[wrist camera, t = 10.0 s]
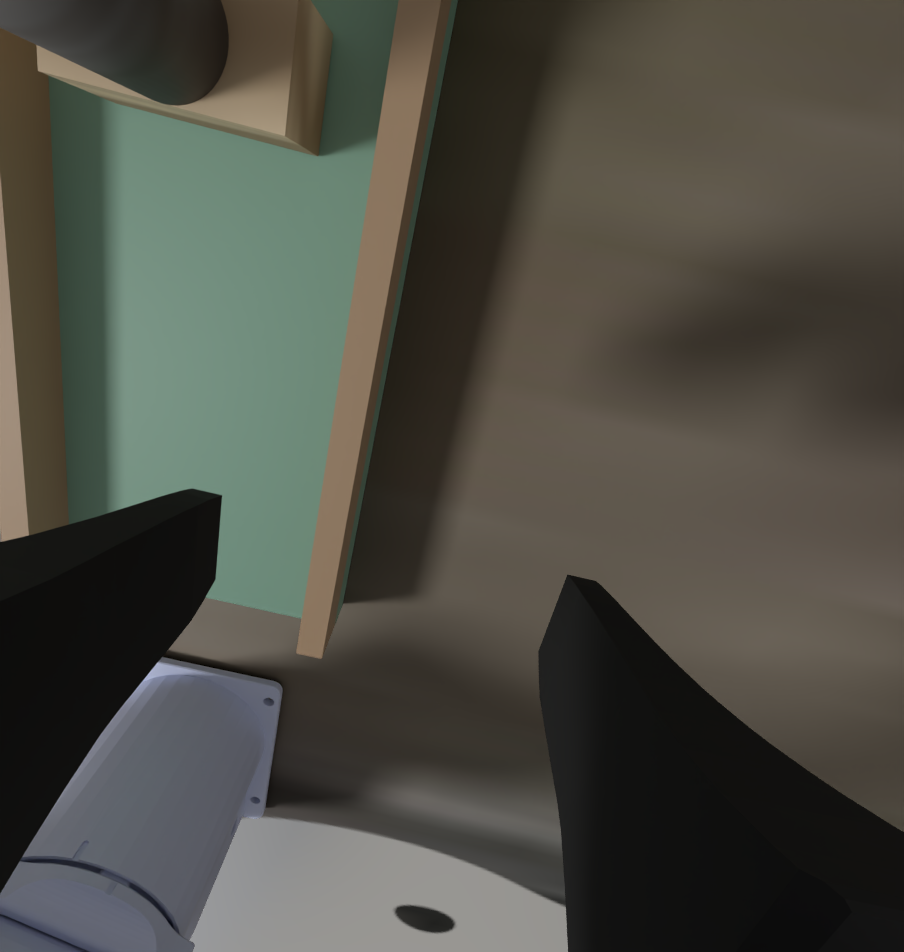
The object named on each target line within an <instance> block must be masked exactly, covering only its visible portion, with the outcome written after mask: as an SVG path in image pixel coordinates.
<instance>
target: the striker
mask: <svg viewBox="0 0 904 952" xmlns="http://www.w3.org/2000/svg"><path fill="white" fill-rule="evenodd" d="M0 28H2V29H4V30H6V31H8V32H11V33H13V34H15V35H17V36H19V37H21V38H23V39H25V40H27V41H29V42H32V43H34V44H36V46H37V65H38V71H39V72H42V73H44V74H47V75H49V76H51V77H54V78H56V79H59V80H61V81H63V82H66V83H68V84H70V85H73V86H75V87H78V88H80V89H82V90H85V91H87V92H90V93H92V94H94V95H97V96H99V97H102V98H104V99H106V100H109V101H111V102H114V103H116V104H120V105H124V106H128V107H131V108H135V109H139V110H143V111H147V112H150V113H154V114H158V115H162V116H166V117H169V118H173V119H177V120H181V121H185V122H188V123H192V124H196V125H200V126H204V127H207V128H211V129H215V130H219V131H223V132H226V133H230V134H234V135H238V136H242V137H245V138H249V139H253V140H257V141H261V142H264V143H268V144H272V145H276V146H280V147H284V148H287V149H291V150H295V151H299V152H303V153H306V154H310V155H314V156H319V147H320V139H321V131H322V123H323V115H324V106H325V98H326V90H327V82H328V74H329V65H330V57H331V49H332V41H333V33H332V32H331V30H330V29H329V27H328V26H327V24H326V23H325V21H324V20H323V18H322V17H321V15H320V14H319V12H318V11H317V9H316V7H315V6H314V4H313V3H312V1H311V0H0Z"/></svg>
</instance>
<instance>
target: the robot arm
mask: <svg viewBox="0 0 904 952" xmlns="http://www.w3.org/2000/svg"><path fill="white" fill-rule="evenodd" d="M221 504H222V495H219V494H215V493H210V492H206V491H201V490H197V489H193V488H191V489H186V490H182V491H178V492H174V493H171V494H167V495H164V496H161V497H158V498H154V499H151V500H148V501H145V502H142V503H139V504H135V505H132V506H129V507H126V508H123V509H119V510H116V511H113V512H110V513H107V514H104V515H100V516H97V517H94V518H90V519H87V520H83V521H80V522H76V523H72V524H69V525H65V526H62V527H58V528H54V529H51V530H47V531H43V532H40V533H36V534H32V535H28V536H24V537H20V538H16V539H11V540H7V541H3V542H0V952H192V951H193V949H194V946H195V945H194V943H193V942H191V941H189V940H190V938H191V936H192V934H193V932H194V930H195V928H196V925H197V923H198V921H199V918H200V916H201V913H202V911H203V909H204V906H205V904H206V901H207V899H208V897H209V894H210V892H211V890H212V887H213V885H214V882H215V880H216V878H217V875H218V873H219V870H220V868H221V866H222V863H223V861H224V859H225V856H226V854H227V851H228V849H229V847H230V844H231V842H232V839H233V837H234V835H235V832H236V830H237V828H238V825H239V823H240V820H241V818H242V816H243V817H248V818H254V819H257V818H260V817H261V816H262V815H263V813H264V810H265V806H266V800H267V793H268V786H269V780H270V773H271V766H272V760H273V753H274V746H275V740H276V733H277V726H278V720H279V713H280V706H281V700H282V693H283V688H282V686H281V685H280V684H279V683H278V682H275V681H272V680H267V679H262V678H258V677H253V676H248V675H244V674H239V673H234V672H230V671H225V670H220V669H216V668H211V667H206V666H202V665H197V664H192V663H188V662H183V661H178V660H174V659H169V658H164V657H163V655H164V654H165V653H166V652H167V650H168V649H169V648H170V647H171V645H172V644H173V643H174V642H175V640H176V639H177V638H178V637H179V635H180V634H181V633H182V632H183V630H184V629H185V628H186V626H187V625H188V624H189V623H190V621H191V620H192V618H193V617H194V615H195V614H196V612H197V610H198V609H199V607H200V605H201V604H202V602H203V601H204V599H205V597H206V595H207V594H208V592H209V590H210V588H211V587H212V585H213V583H214V582H215V580H216V568H217V555H218V542H219V529H220V516H221ZM539 689H540V701H541V707H542V714H543V720H544V726H545V732H546V738H547V744H548V750H549V756H550V762H551V767H552V773H553V779H554V785H555V791H556V797H557V803H558V810H559V818H560V826H561V836H562V851H563V865H564V880H565V897H566V915H567V937H568V952H904V832H902V831H901V830H899V829H897V828H896V827H894V826H892V825H891V824H889V823H888V822H886V821H884V820H883V819H881V818H880V817H878V816H876V815H875V814H873V813H872V812H870V811H868V810H867V809H865V808H864V807H862V806H860V805H859V804H857V803H856V802H854V801H853V800H851V799H849V798H848V797H846V796H845V795H843V794H841V793H840V792H838V791H837V790H835V789H834V788H832V787H831V786H829V785H828V784H826V783H825V782H824V781H822V780H821V779H819V778H818V777H816V776H815V775H813V774H812V773H810V772H809V771H807V770H806V769H805V768H803V767H802V766H800V765H799V764H798V763H796V762H795V761H793V760H792V759H791V758H789V757H788V756H787V755H785V754H784V753H782V752H781V751H780V750H778V749H777V748H775V747H774V746H773V745H771V744H770V743H769V742H767V741H766V740H765V739H763V738H762V737H761V736H759V735H758V734H757V733H756V732H754V731H753V730H752V729H750V728H749V727H748V726H747V725H745V724H744V723H743V722H742V721H741V720H739V719H738V718H737V717H736V716H735V715H733V714H732V713H731V712H730V711H728V710H727V709H726V708H725V707H724V706H722V705H721V704H720V703H719V702H718V701H716V700H715V699H714V698H713V697H712V696H711V695H710V694H708V693H707V692H706V691H705V690H704V689H703V688H702V687H701V686H700V685H698V684H697V683H696V682H695V681H694V680H693V679H692V678H691V677H690V676H689V675H688V674H687V673H686V672H685V671H684V670H683V669H682V668H680V667H679V666H678V665H677V664H676V663H675V662H674V661H673V660H672V659H671V658H670V657H669V656H668V655H667V654H666V653H665V652H664V651H663V650H662V649H661V648H660V647H659V646H658V645H657V644H656V643H655V642H654V641H653V640H652V638H651V637H650V636H649V635H648V634H647V633H646V632H645V631H644V630H643V629H642V628H641V627H640V626H639V625H638V624H637V623H636V622H635V621H634V619H633V618H632V617H631V616H630V615H629V614H628V613H627V612H626V611H625V610H624V609H623V608H622V607H621V606H620V604H619V603H618V602H617V601H616V600H615V599H614V598H613V597H612V596H611V595H610V594H609V593H608V592H607V591H606V590H605V589H604V588H603V587H602V586H601V585H600V584H599V583H597V582H596V581H593V580H589V579H584V578H580V577H576V576H571V575H567V577H566V580H565V583H564V585H563V588H562V591H561V593H560V596H559V599H558V601H557V604H556V607H555V609H554V612H553V614H552V617H551V620H550V622H549V625H548V628H547V630H546V633H545V636H544V638H543V641H542V644H541V646H540V649H539ZM268 698H271V699H272V700H270V699H268Z"/></svg>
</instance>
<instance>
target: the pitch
mask: <svg viewBox="0 0 904 952" xmlns="http://www.w3.org/2000/svg"><path fill="white" fill-rule="evenodd" d="M311 1H312V3H313V4H314V6H315V7H316V9H317V11H318V12H319V14H320V15H321V17H322V18H323V20H324V21H325V23H326V24H327V26H328V27H329V29H330V30H331V32H332V33H333V41H332V49H331V57H330V65H329V74H328V82H327V90H326V98H325V106H324V115H323V123H322V131H321V139H320V147H319V156H314V155H310V154H306V153H303V152H299V151H295V150H291V149H287V148H284V147H280V146H276V145H272V144H268V143H264V142H261V141H257V140H253V139H249V138H245V137H242V136H238V135H234V134H230V133H226V132H223V131H219V130H215V129H211V128H207V127H204V126H200V125H196V124H192V123H188V122H185V121H181V120H177V119H173V118H169V117H166V116H162V115H158V114H154V113H150V112H147V111H143V110H139V109H135V108H131V107H128V106H124V105H120V104H116V103H114V102H111V101H109V100H106V99H104V98H102V97H99V96H97V95H94V94H92V93H90V92H87V91H85V90H82V89H80V88H78V87H75V86H73V85H70V84H68V83H66V82H63V81H61V80H59V79H56V78H54V77H51V76H49V75H47V74H44V73H42V72H39V71H38V65H37V46H36V44H34V43H32V42H29V41H27V40H25V39H23V38H21V37H19V36H17V35H15V34H13V33H11V32H8V31H6V30H4V29H2V28H0V529H1V539H2V542H3V541H7V540H11V539H16V538H20V537H24V536H28V535H32V534H36V533H40V532H43V531H47V530H51V529H54V528H58V527H62V526H65V525H69V524H72V523H76V522H80V521H83V520H87V519H90V518H94V517H97V516H100V515H104V514H107V513H110V512H113V511H116V510H119V509H123V508H126V507H129V506H132V505H135V504H139V503H142V502H145V501H148V500H151V499H154V498H158V497H161V496H164V495H167V494H171V493H174V492H178V491H182V490H186V489H191V488H193V489H197V490H201V491H206V492H210V493H215V494H219V495H222V504H221V516H220V529H219V542H218V555H217V568H216V580H215V582H214V583H213V585H212V587H211V588H210V590H209V592H208V594H207V595H206V598H210V599H215V600H219V601H224V602H229V603H233V604H238V605H242V606H247V607H251V608H256V609H260V610H265V611H269V612H274V613H278V614H283V615H288V616H292V617H297V618H301V626H300V632H299V638H298V645H297V651H296V653H297V654H301V655H306V656H311V657H315V658H320V659H322V657H323V654H324V652H325V649H326V646H327V644H328V641H329V639H330V636H331V633H332V631H333V628H334V626H335V623H336V621H337V618H338V615H339V613H340V610H341V608H342V605H343V600H344V595H345V590H346V585H347V579H348V574H349V569H350V564H351V558H352V553H353V548H354V543H355V537H356V532H357V527H358V522H359V517H360V511H361V506H362V501H363V496H364V490H365V485H366V480H367V475H368V469H369V464H370V459H371V454H372V448H373V443H374V438H375V433H376V427H377V422H378V417H379V412H380V407H381V401H382V396H383V391H384V386H385V380H386V375H387V370H388V365H389V359H390V354H391V349H392V344H393V338H394V333H395V328H396V323H397V318H398V312H399V307H400V302H401V297H402V291H403V286H404V281H405V276H406V270H407V265H408V260H409V255H410V249H411V244H412V239H413V234H414V228H415V223H416V218H417V213H418V208H419V202H420V197H421V192H422V187H423V181H424V176H425V171H426V166H427V160H428V155H429V150H430V145H431V139H432V134H433V129H434V124H435V118H436V113H437V108H438V103H439V98H440V92H441V87H442V82H443V77H444V71H445V66H446V61H447V56H448V50H449V45H450V40H451V35H452V29H453V24H454V19H455V14H456V9H457V3H458V0H311Z"/></svg>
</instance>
